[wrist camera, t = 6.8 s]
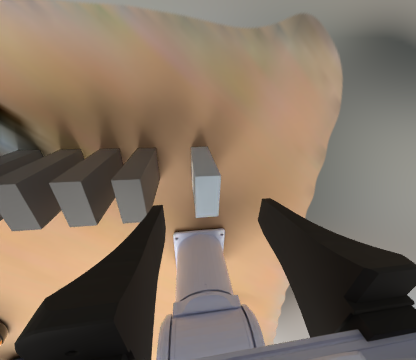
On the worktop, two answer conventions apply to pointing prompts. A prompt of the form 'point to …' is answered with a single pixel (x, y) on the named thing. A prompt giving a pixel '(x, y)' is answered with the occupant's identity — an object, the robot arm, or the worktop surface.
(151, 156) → the domino
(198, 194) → the domino
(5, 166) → the domino
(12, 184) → the domino
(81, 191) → the domino
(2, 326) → the supplement container
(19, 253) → the worktop surface
